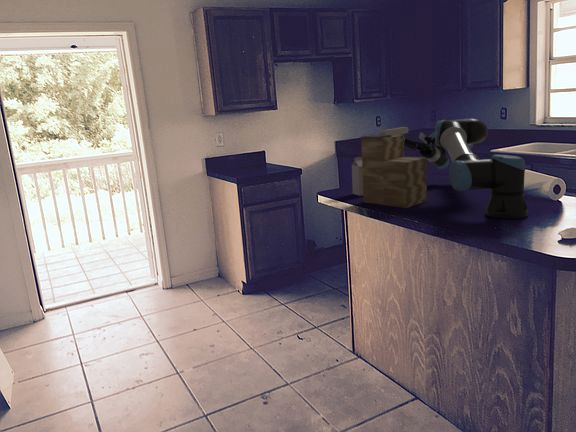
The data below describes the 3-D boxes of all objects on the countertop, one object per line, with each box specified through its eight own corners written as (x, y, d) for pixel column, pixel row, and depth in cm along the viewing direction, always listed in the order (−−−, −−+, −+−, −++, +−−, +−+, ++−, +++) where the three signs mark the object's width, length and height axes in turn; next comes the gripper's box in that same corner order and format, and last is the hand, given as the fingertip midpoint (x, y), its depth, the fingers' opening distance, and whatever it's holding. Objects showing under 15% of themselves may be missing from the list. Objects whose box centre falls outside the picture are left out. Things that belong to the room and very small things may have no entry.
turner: (378, 138, 220) (378, 132, 219) (361, 138, 227) (361, 132, 226) (414, 132, 237) (414, 127, 236) (397, 132, 244) (397, 127, 243)
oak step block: (384, 196, 245) (383, 134, 238) (426, 201, 228) (426, 135, 221) (363, 202, 235) (361, 138, 228) (405, 208, 217) (404, 139, 211)
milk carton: (371, 194, 252) (370, 156, 247) (359, 196, 249) (358, 158, 245) (364, 192, 258) (363, 155, 254) (352, 194, 256) (351, 157, 251)
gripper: (449, 159, 247) (428, 142, 233) (407, 157, 266) (385, 141, 252) (453, 146, 248) (432, 127, 234) (411, 145, 267) (390, 127, 253)
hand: (408, 134), depth 243 cm, fingers open, 13 cm apart
